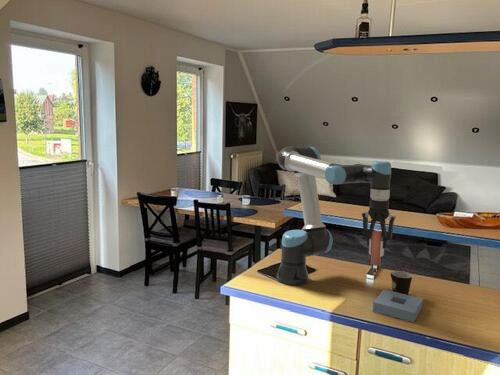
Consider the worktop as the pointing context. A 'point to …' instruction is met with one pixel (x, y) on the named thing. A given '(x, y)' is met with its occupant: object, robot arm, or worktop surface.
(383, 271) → the worktop surface
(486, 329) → the worktop surface
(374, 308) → the socket slab
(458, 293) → the worktop surface
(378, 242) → the peg
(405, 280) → the coffee mug
